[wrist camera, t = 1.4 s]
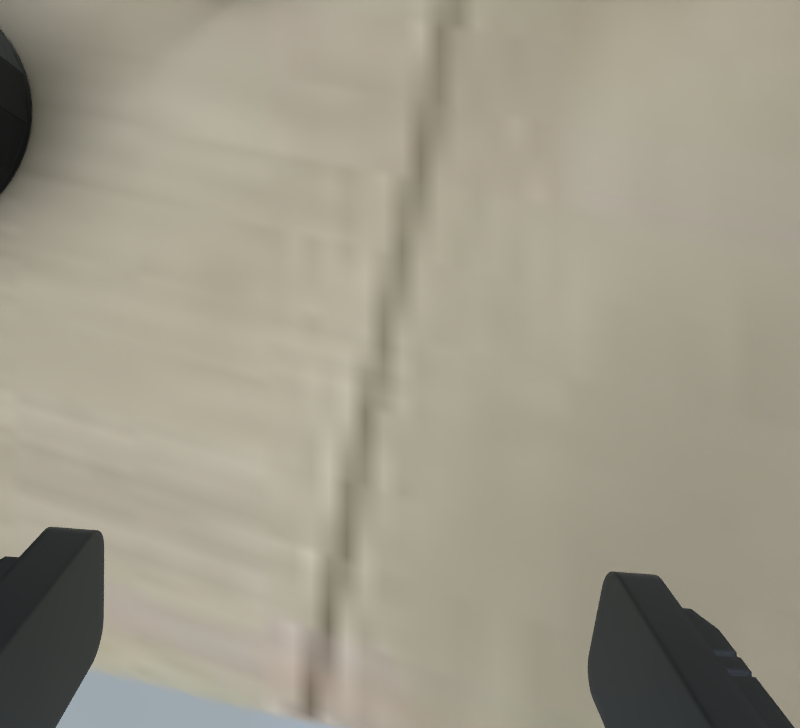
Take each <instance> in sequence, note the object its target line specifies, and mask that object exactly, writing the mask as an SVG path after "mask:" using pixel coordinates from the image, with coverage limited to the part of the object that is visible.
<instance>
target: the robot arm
mask: <svg viewBox="0 0 800 728" xmlns="http://www.w3.org/2000/svg"><path fill="white" fill-rule="evenodd" d="M103 618H104V540H103V536H102V533H101V532H100V531H98V530H85V529H72V528H59V527H48V528H46V529H45V530H44V531H43V532H42V533H41V534H40V536H39V537H38V538H37V539H36V540H35V541H34V542H33V543H32V544H31V545H30V546H29V547H28V548H27V550H26V551H25V552H24V553H23V554H22V555H21V556H20V557H4V558H2V559H0V728H55V727H56V726H57V724H58V722H59V721H60V719H61V717H62V715H63V714H64V712H65V710H66V708H67V707H68V705H69V703H70V701H71V700H72V698H73V696H74V694H75V693H76V691H77V689H78V687H79V686H80V684H81V682H82V680H83V679H84V677H85V675H86V674H87V672H88V670H89V668H90V667H91V665H92V663H93V661H94V659H95V656H96V654H97V651H98V648H99V644H100V640H101V635H102V629H103ZM736 654H737V653H736V651H735V650H734V649H733V648H732V646H731V645H730V644H729V642H728V641H727V640H726V639H725V637H724V636H723V635H722V633H721V632H720V631H719V630H718V629H717V628H716V627H714V626H713V625H712V624H710V623H709V622H708V621H706V620H705V619H704V618H702V617H701V616H700V615H698V614H697V613H696V612H694V611H693V610H692V609H685V608H682V607H681V606H680V604H679V603H678V601H677V600H676V599H675V597H674V596H673V595H672V593H671V592H670V590H669V589H668V588H667V586H666V585H665V584H664V582H663V581H662V579H661V578H660V577H659V576H657V575H650V574H637V573H624V572H609V573H608V574H607V576H606V577H605V580H604V582H603V586H602V591H601V596H600V601H599V606H598V611H597V616H596V621H595V626H594V631H593V636H592V641H591V646H590V651H589V658H588V679H589V686H590V691H591V694H592V697H593V700H594V702H595V705H596V707H597V709H598V712H599V714H600V716H601V719H602V721H603V723H604V726H605V728H794V727H793V725H792V724H791V723H790V721H789V720H788V719H787V718H786V716H785V715H784V714H783V712H782V711H781V710H780V708H779V707H778V706H777V705H776V703H775V702H774V701H773V699H772V698H771V697H770V696H769V694H768V693H767V692H766V690H765V689H764V688H763V686H762V685H761V684H760V683H759V681H758V680H757V679H756V677H752V675H751V673H752V672H751V671H750V670H749V668H748V667H747V666H746V664H745V663H744V662H743V661H742V659H741V658H739V657H737V655H736Z"/></svg>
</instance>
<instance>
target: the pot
mask: <svg viewBox="0 0 800 728" xmlns="http://www.w3.org/2000/svg"><path fill="white" fill-rule="evenodd" d="M31 115H32V103H31V95H30V88H29V84H28V80H27V76H26V73H25V70H24V68H23V65H22V63H21V60H20V58H19V56H18V54H17V53H16V51H15V49H14V48H13V46H12V44H11V43H10V42H9V40H8V39H7V38H6V36H5V35H4V33H3V32H2V30H0V194H1V193H2V191H3V190H4V189H5V187H6V186H7V185H8V183H9V182H10V181H11V179H12V177H13V176H14V174H15V172H16V170H17V169H18V167H19V165H20V162H21V160H22V158H23V155H24V153H25V150H26V146H27V142H28V139H29V134H30V127H31Z"/></svg>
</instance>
